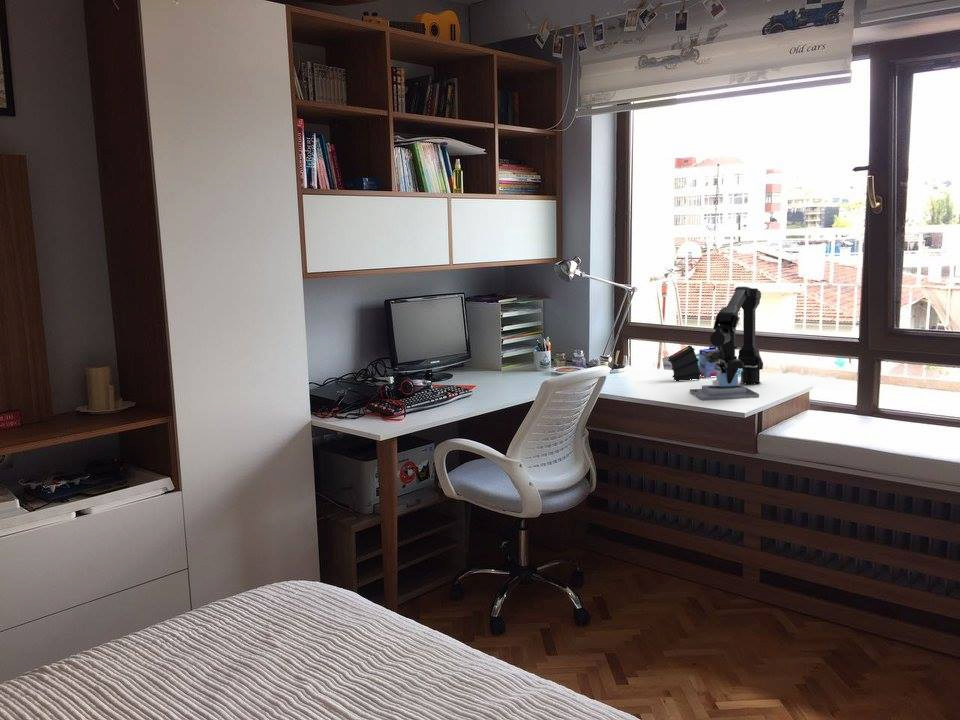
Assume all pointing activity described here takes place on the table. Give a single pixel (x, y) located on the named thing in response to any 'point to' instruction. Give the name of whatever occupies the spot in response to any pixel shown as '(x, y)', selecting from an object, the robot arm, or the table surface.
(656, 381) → the table surface
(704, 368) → the ink cartridge box
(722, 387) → the chassis
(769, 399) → the table surface
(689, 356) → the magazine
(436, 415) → the table surface
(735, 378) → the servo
